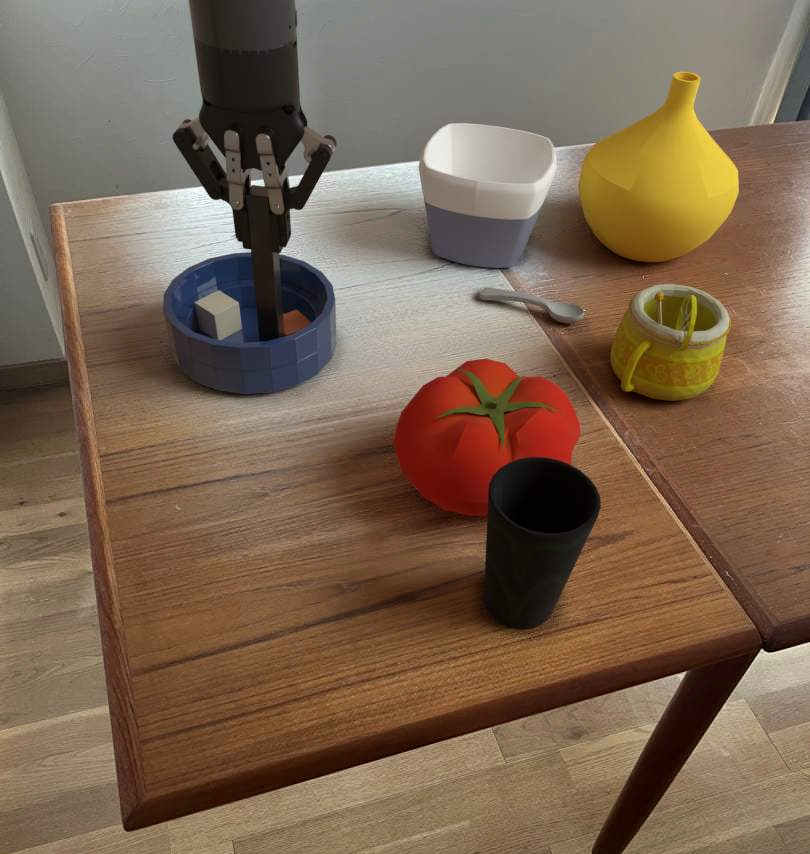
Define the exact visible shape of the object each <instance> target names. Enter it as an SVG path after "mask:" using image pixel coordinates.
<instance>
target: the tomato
mask: <svg viewBox="0 0 810 854" xmlns="http://www.w3.org/2000/svg"><path fill="white" fill-rule="evenodd" d="M395 428H396V429H395V432H394V436H393V441H392V443H393V447H394V451H395V455H396V458H397V461H398V464H399V468H400V470H401V473H402V474H403V476H404V477H405V479H407V481H409V482H410V483H411V485H412V486H413V487H414V488H415V489H416V490H417V491H418V493H420V495H421V496H422V497H423V498H424V499H426V500H427V501H429V502H431V503H432V504H435V505H436V506H437V507H439V508H441V509H443V510H444V511H449V512H452V513H458V514H462V515H466V516H487V514H488V492H489V484H490V481H491V479H492V477H493V475H494V474H495V473H496V472H497V471H498V470H499V469H500V468H501V467H503V466H504V465H506V464H508V463H510V462H512V461H515V460H518V459H522V458H529V457H546V458H551V459H556V460H559V461H562V462H565V463H568V464H570V465H572V454H573V451H574V449H575V446H576V444H577V443H578V440H579V439H580V437H581V423H580V420H579V418H578V415H577V413H576V410H575V408H574V406H573V405H572V402H571V401H570V398H569V397H568V395H567V393H566V391H564V390H563V389H562V388H561V387H559V386H558V385H557V384H556V383H554V382H553V381H552V380H550V379H548V378H546V377H544V376H542V375H536V376H533V375H532V376H525V375H522V376H519V374H518V373H516V372H515V371H514V370H513V369H512V368H511V367H510V366H509V365H508V364H507V363H505V362H501V361H498V360H494V359H489V358H479V359H472V360H471V359H470V360H466V361H465V362H463V363H461V364H460V365H459V366H457V368H455V369H454V370H452V372H450V373H449V374H447V375H446V376H445V375H444V376H437V377H436V378H435V377H434V379H432V380H430V381H428V382H427V383H424V384H422V386H421V387H420V388H419V390H418V391H417V392H416V393H415V394H414V396H413V397H412V399H410V400H409V402H408V403H407V404H406V405H405V407H404V408H403V409H402V410H401V412H400V415H399V418H398V421H397V424H396V427H395Z"/></svg>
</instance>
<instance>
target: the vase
mask: <svg viewBox="0 0 810 854" xmlns="http://www.w3.org/2000/svg"><path fill="white" fill-rule="evenodd" d="M701 79H702V77H701V76H700V75H699V74H697V73H694V72H690V71H676V72H674V73H673V75H672V78H671V82H670V86H669V90H668V94H667V96H666V99H665V101H664V103H663V105H661V106H660V107H659V108H658V109H657V110H655V111H654V112H653V113H650V114H649V115H647V116H645V117H643V118H642V119H640V120H637V121H636V122H634V123H633V124H631V125H629V126H627V127H625V128H622V129H621V130H619V131H616V132H615V133H612V134H610V135H608V136H606V137H605V138H602V139H600V140H598V141H596V142H595V143H594V144H593V146H591V147H590V148H589V150H588V152H587V154H586V155H585V157H584V158H583V160H582V165H581V169H580V174H579V180H578V186H577V187H578V192H579V197H580V202H581V208H582V212H583V216H584V218H585V221H586V222H587V224H588V226H589V228H590V230H591V231H592V233H593V234H594V236H595V237H596V239H597V240H599V242H600V243H601V244H602V245H603V246H605V247H606V248H607V249H608V250H610V251H611V252H612V253H613V254H616V255H618V256H621V257H623V258H625V259H628V260H631V261H637V262H642V263H662V262H668V261H670V260H673V259H676V258H679V257H682V256H685V255H688V254H689V253H690V252H692V251H693V250H695V249H696V248H698V247H699V246H701V245H702V244H704V243H706V242H707V241H709V240H710V238H712V237H713V235H714V234H715V233H716V232H717V230H718V229H719V228H720V227H721V226H722V225H723V224H724V223H725V221H726V220H727V219H728V218H729V216H730V214H731V212H732V211H733V209H734V206H735V204H736V201H737V198H738V195H739V192H740V191H739V187H740V185H739V184H740V183H739V170H738V168H737V167H736V165H735V163H734V162H733V161H732V159H731V158H730V157H729V156H728V155H727V153H726V152H725V151H724V150H723V149H722V148H721V147H720V145H719V144H718V143H717V142H716V141H715V139H714V138H713V137H712V136H711V135H710V134H709V132H708V131H707V130H706V128H705V126H703V124H702V123H701V122H700V121H699V119H698V117H697V114H696V112H695V110H694V109H695V107H694V106H695V101H696V98H697V94H698V90H699V88H700V87H699V86H700V84H701Z"/></svg>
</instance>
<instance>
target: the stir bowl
mask: <svg viewBox="0 0 810 854" xmlns="http://www.w3.org/2000/svg"><path fill="white" fill-rule="evenodd" d="M279 262H280V277H281V292H282V306H283V314H286V313H288V312H291V311H294V310H298V311H299V312H300V313H302V314H303V315H304V316H305V317H306V318H307V319H308V320H309V321H310V322H311V324H310V325H309V326H307V327H305V328H303V329H301V330H299V331H297V332H295V333H293V334H291V335H289V336H285V337H281V338H277V339H273V340H269V341H262V342H259V331H258V321H257V310H256V300H255V289H254V279H253V268H252V257H251V251H250V252H247V251H246V252H234V253H228V254H224V255H219V256H215V257H210V258H207V259H205V260H202V261H200V262H198V263H194V264H193V265H190V266H188V267H187V268H186V269H184V270H183V271H182V272H181V273H179V274H177V276H175V277H174V278H172V280H171V281H170V283H169V284H168V286H167V288H166V289H165V291H164V293H163V298H162V303H163V304H162V311H163V315H164V316H163V317H164V322H165V326H166V330H167V335H168V340H169V345H170V350H171V355H172V358H173V359H174V361H175V362H176V364H177V366H178V369H179V370H181V372H183V373H184V374H185V375H186V376H188V377H189V378H190V379H192V380H193V381H195V382H196V383H198V384H201V385H203V386H206V387H208V388H211V389H214V390H216V391H220V392H227V393H235V394H243V395H250V394H251V395H252V394H265V393H275V392H278V391H281V390H285V389H288V388H292V387H295V386H299V385H301V384H302V383H304V382H306V381H308V380H310V379H312V378H313V377H315V376H317V375H319V373H320V372H321V371H322V370H323V369H324V368H325V367H326V366H327V365H328V364H329V362H330V361H332V358H333V356H334V352H335V349H336V347H337V311H336V309H337V307H336V296H335V291H334V290H335V289H334V286H333V284H332V282H331V281H330V280H329V278H328V277H327V276H326V275H325V274H324V273H323V271H321V270H320V269H318V268H316V267H315V266H313V265H311V264H310V263H308V262H307V261H305V260H302V259H298V258H296V257H292V256H289V255H285V254H281V253H279ZM218 290H219V291H221V292H222V293H224V294H226V295H227V296H229V297H231V298H232V299H234V300H235V301H237V302H239V308H240V316H241V324H242V329H241V330H239V331H237V332H235V333H234V334H232V335H230V336H228V337H226V338H224V339H222V340H215V339H214V338H212V337H211V336H209V335H208V334H206V333H205V332H203V331H202V330H200V329H199V327H198V321H197V315H196V310H195V304H194V302H196V301H198V300H200V299H202V298H204V297H206V296H208V295H210V294H212V293H214V292H216V291H218Z"/></svg>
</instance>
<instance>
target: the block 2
mask: <svg viewBox="0 0 810 854" xmlns="http://www.w3.org/2000/svg"><path fill="white" fill-rule="evenodd" d="M283 321H284V336H289V335H291V334H293V333H295V332H297V331H299V330H301V329H303V328H305V327H307V326H309V325H310V324H311V322H310V321H309V320H308V319H307V318H306V317H305V316H304V315H303V314H302V313H300V312H299V311H298V310H294V311H291V312H288V313H286V314H283Z"/></svg>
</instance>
